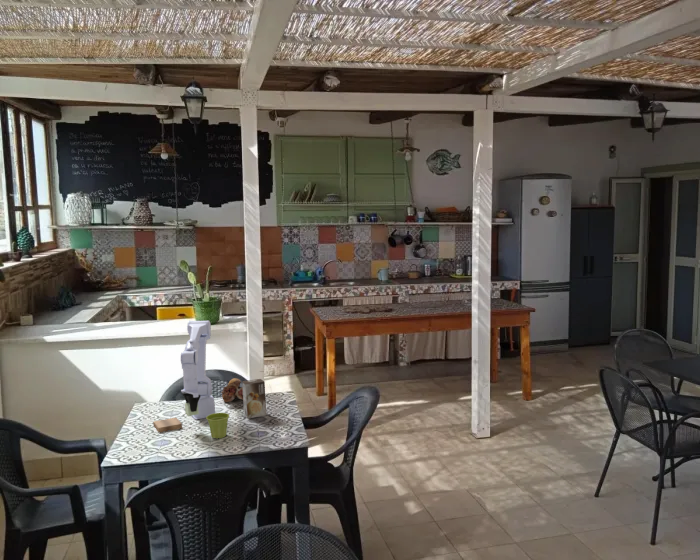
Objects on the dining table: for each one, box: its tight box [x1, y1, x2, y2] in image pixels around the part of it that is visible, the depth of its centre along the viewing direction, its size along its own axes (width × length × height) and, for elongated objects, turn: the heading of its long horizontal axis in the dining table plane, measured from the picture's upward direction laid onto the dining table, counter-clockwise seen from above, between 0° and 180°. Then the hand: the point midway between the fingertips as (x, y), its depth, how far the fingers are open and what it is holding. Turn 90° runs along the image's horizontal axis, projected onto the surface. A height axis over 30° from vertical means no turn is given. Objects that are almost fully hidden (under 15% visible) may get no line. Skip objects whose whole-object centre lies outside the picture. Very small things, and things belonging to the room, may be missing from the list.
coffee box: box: [241, 378, 267, 419], centre depth 281 cm, size 9×6×16 cm
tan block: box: [152, 417, 183, 433], centre depth 268 cm, size 10×10×2 cm
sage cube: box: [184, 402, 199, 417], centre depth 262 cm, size 4×4×4 cm
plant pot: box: [205, 412, 230, 439], centre depth 255 cm, size 9×9×9 cm
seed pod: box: [220, 377, 243, 403], centre depth 305 cm, size 13×16×15 cm
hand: (192, 409), depth 262 cm, fingers closed on sage cube, 4 cm apart
